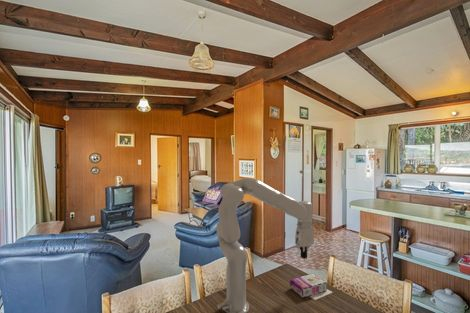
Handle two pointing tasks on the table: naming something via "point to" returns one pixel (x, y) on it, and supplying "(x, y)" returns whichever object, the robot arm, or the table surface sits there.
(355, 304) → the table surface
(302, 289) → the candy bar box
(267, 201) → the robot arm
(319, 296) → the white mat
